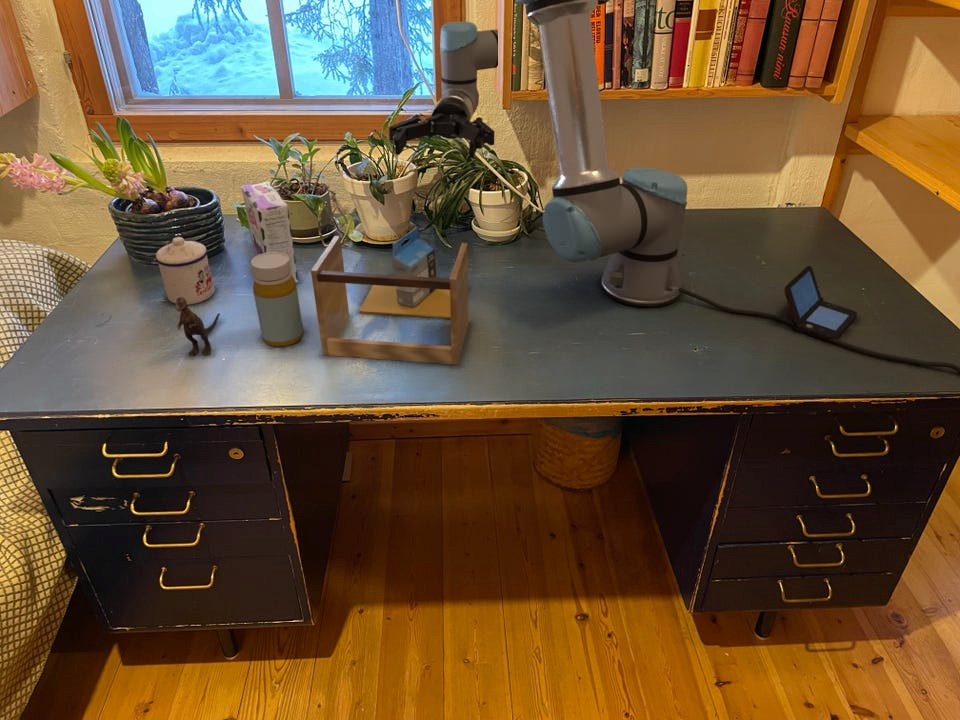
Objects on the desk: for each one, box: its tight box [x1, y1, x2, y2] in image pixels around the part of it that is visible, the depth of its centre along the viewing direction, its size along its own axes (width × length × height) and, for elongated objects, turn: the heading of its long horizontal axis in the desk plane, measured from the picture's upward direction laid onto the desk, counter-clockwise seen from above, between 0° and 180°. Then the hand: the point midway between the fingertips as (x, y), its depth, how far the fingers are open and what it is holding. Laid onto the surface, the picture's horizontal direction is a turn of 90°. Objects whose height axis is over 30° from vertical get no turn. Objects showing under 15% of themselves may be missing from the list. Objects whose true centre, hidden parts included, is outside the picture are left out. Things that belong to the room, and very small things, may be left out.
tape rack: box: [310, 235, 469, 366], centre depth 124 cm, size 23×13×16 cm, turn 83°
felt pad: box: [359, 285, 451, 320], centre depth 140 cm, size 18×12×1 cm, turn 83°
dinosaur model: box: [175, 297, 221, 357], centre depth 125 cm, size 4×12×15 cm
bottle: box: [250, 252, 304, 348], centre depth 125 cm, size 7×7×15 cm
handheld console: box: [783, 265, 858, 342], centre depth 132 cm, size 12×11×7 cm
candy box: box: [240, 180, 299, 284], centre depth 145 cm, size 14×6×16 cm, turn 27°
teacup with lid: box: [155, 236, 215, 306], centre depth 140 cm, size 12×9×12 cm
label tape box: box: [392, 226, 437, 308], centre depth 137 cm, size 9×4×12 cm, turn 153°
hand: (433, 149), depth 133 cm, fingers open, 13 cm apart
